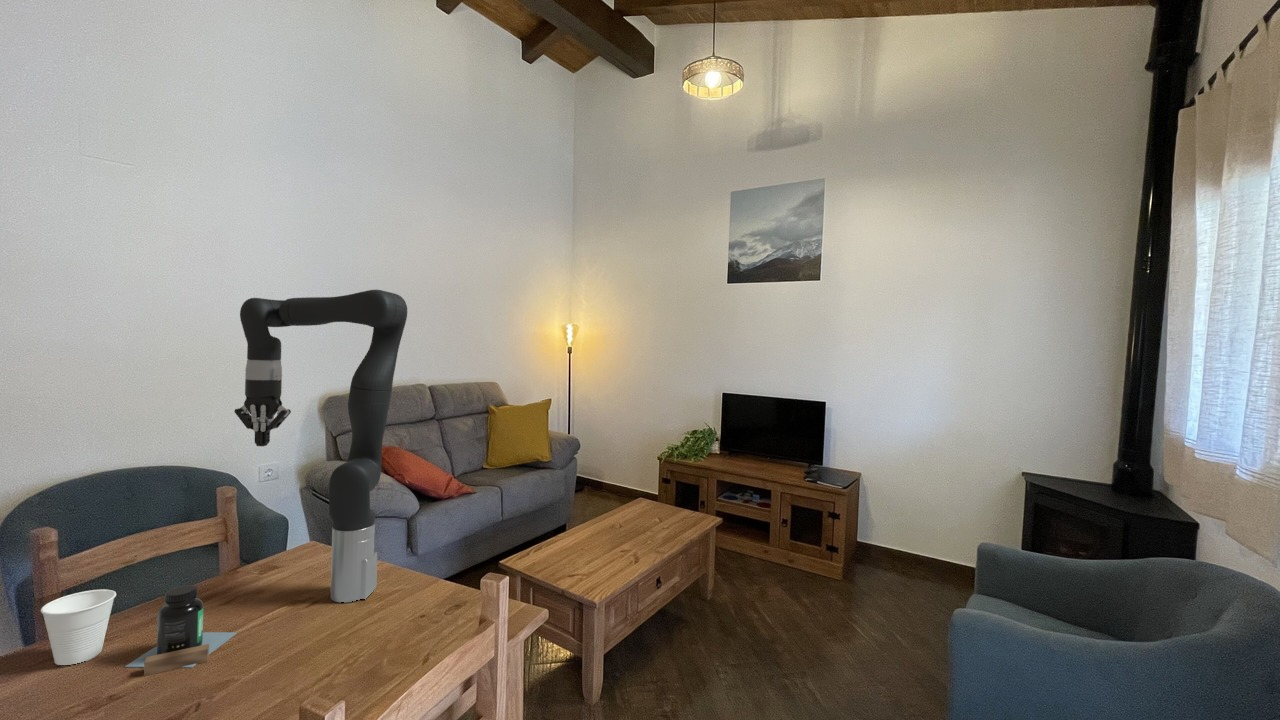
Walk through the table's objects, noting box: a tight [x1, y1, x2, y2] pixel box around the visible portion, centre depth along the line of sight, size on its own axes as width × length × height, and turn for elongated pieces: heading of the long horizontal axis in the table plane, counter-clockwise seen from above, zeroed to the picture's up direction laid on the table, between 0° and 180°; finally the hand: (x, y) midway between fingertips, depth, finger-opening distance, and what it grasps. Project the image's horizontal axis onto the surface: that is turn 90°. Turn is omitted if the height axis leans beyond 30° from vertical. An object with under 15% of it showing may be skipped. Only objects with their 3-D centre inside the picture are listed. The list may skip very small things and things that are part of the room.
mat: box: [124, 631, 238, 669], centre depth 105 cm, size 12×12×1 cm
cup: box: [40, 588, 117, 666], centre depth 101 cm, size 10×10×11 cm
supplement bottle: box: [156, 584, 204, 655], centre depth 104 cm, size 7×7×12 cm
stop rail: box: [143, 644, 210, 677], centre depth 99 cm, size 9×2×2 cm, turn 123°
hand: (262, 445), depth 134 cm, fingers closed
